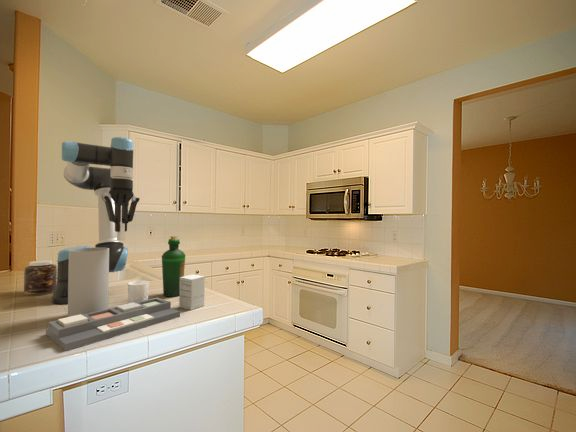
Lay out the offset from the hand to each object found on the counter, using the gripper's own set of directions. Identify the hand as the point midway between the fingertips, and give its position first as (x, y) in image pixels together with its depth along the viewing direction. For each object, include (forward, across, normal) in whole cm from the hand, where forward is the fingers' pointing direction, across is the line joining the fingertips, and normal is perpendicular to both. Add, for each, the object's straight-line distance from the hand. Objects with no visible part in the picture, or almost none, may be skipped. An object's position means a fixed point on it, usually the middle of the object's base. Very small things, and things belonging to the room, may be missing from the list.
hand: (120, 240), depth 110 cm
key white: (+25, -18, -9) cm, 32 cm away
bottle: (+29, +28, +9) cm, 41 cm away
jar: (+29, -10, +60) cm, 67 cm away
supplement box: (+29, +23, -13) cm, 39 cm away
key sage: (+26, +8, -9) cm, 29 cm away
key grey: (+25, -1, -9) cm, 26 cm away
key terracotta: (+26, -9, -9) cm, 29 cm away
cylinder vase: (+29, -8, +7) cm, 31 cm away
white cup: (+29, +9, +4) cm, 30 cm away
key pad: (+28, -5, -11) cm, 31 cm away
